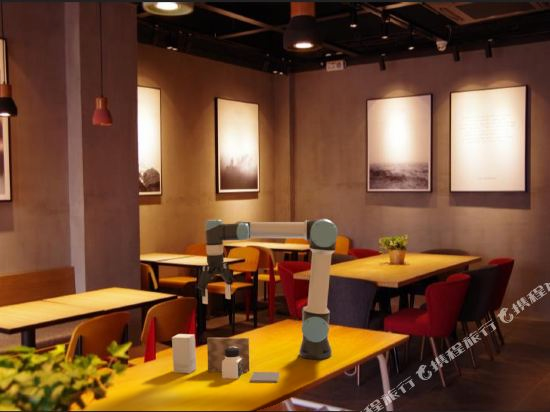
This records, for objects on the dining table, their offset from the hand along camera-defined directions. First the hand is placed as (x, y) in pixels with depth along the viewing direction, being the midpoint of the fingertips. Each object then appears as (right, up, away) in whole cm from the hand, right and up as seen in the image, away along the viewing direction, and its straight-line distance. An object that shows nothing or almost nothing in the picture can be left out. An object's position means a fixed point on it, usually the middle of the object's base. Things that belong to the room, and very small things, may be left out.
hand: (216, 301), depth 268 cm
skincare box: (-13, -29, -10) cm, 33 cm away
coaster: (+22, -28, -21) cm, 42 cm away
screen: (+6, -28, -10) cm, 31 cm away
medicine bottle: (+8, -29, -18) cm, 35 cm away
